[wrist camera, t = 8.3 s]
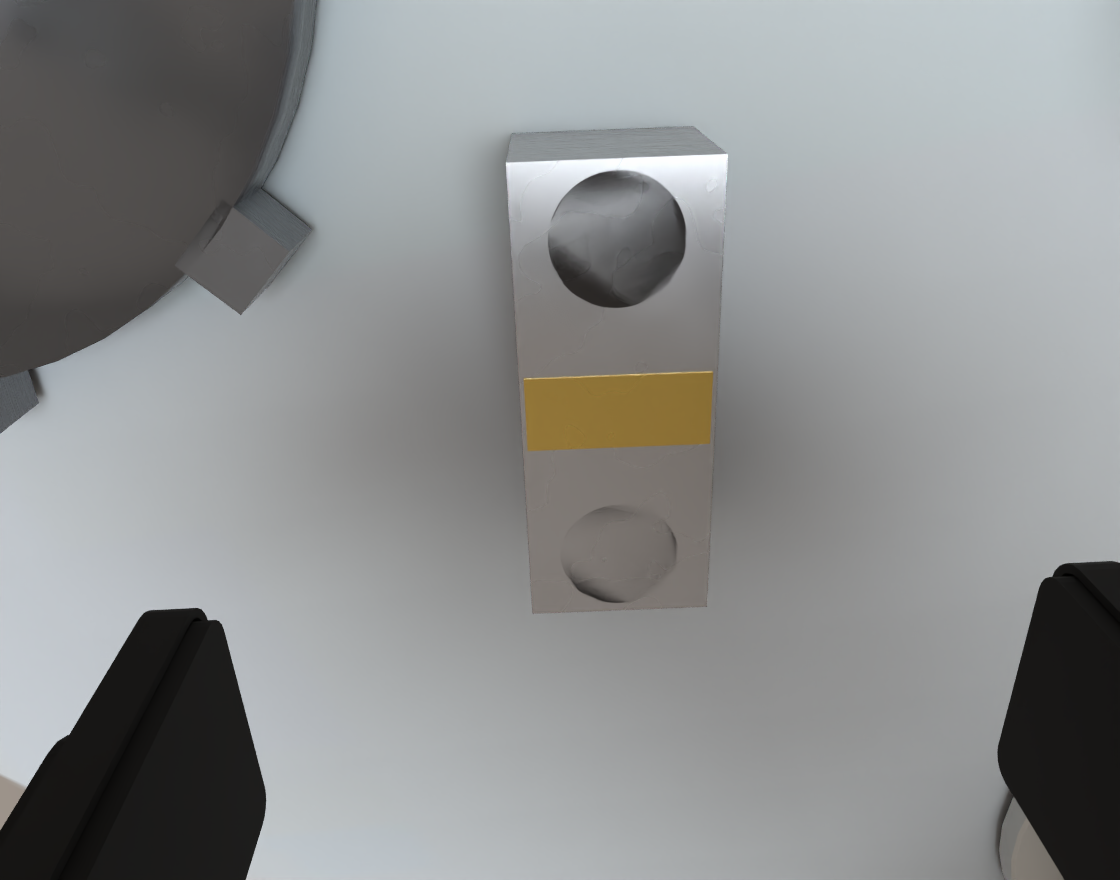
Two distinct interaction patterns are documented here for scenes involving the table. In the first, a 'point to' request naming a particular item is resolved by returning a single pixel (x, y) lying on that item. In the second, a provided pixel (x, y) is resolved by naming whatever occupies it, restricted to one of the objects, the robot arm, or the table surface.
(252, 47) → the sprocket
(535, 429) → the dimpled metal block
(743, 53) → the table surface
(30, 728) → the table surface
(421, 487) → the table surface
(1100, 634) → the robot arm
